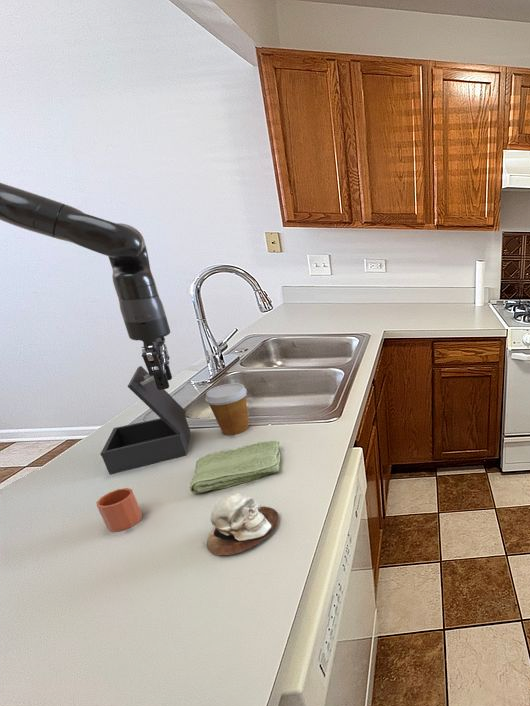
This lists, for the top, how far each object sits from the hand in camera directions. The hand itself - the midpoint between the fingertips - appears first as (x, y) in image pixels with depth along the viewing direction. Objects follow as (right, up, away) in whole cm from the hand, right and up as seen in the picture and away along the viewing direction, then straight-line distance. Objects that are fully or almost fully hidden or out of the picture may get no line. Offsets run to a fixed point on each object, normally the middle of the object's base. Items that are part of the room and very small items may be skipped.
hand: (165, 384), depth 96 cm
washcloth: (+20, -20, -3) cm, 29 cm away
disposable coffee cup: (+9, -13, +13) cm, 21 cm away
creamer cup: (+7, -26, -19) cm, 33 cm away
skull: (+32, -27, -21) cm, 46 cm away
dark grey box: (-6, -17, +3) cm, 18 cm away
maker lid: (-2, -4, 0) cm, 5 cm away
